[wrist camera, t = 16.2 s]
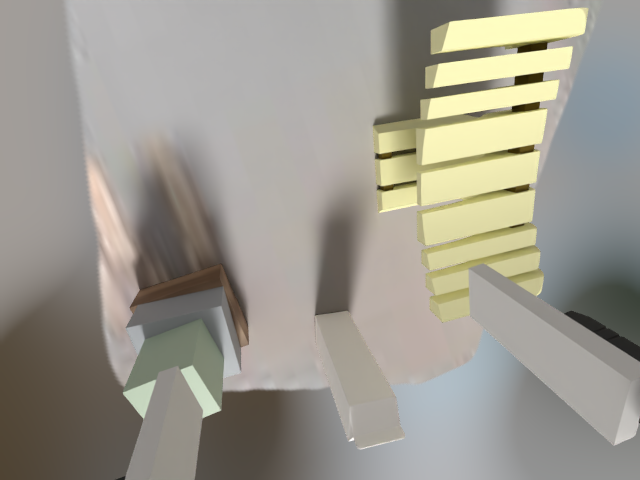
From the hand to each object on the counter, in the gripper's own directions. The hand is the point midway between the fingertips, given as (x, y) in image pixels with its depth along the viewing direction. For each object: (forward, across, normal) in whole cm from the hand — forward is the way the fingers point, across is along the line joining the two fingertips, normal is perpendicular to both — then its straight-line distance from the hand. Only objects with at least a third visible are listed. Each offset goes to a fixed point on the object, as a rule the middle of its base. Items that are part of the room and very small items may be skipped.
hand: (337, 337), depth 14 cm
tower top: (+29, -16, -16) cm, 37 cm away
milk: (+34, +3, -28) cm, 44 cm away
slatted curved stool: (+34, +23, -4) cm, 42 cm away
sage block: (+24, -16, -15) cm, 33 cm away
